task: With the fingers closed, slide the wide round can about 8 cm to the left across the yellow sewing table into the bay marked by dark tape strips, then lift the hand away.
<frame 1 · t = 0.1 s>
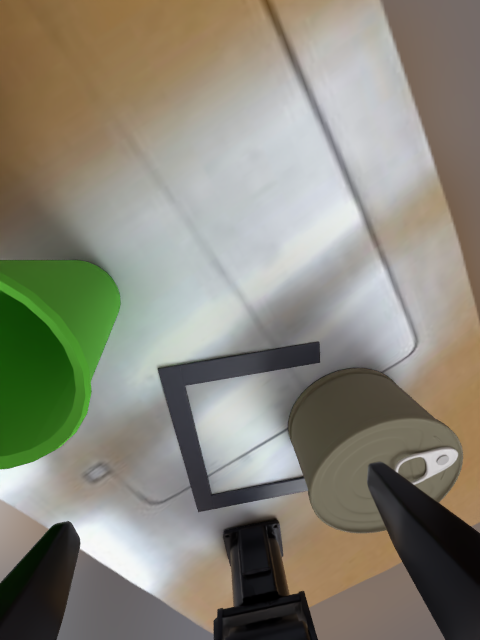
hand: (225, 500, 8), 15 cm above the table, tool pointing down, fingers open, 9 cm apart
can: (344, 417, 27), on the table
cup: (85, 294, 20), on the table
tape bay: (265, 432, 26), on the table
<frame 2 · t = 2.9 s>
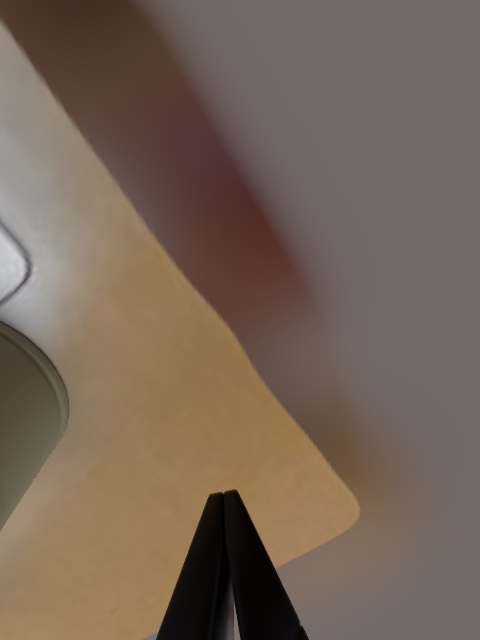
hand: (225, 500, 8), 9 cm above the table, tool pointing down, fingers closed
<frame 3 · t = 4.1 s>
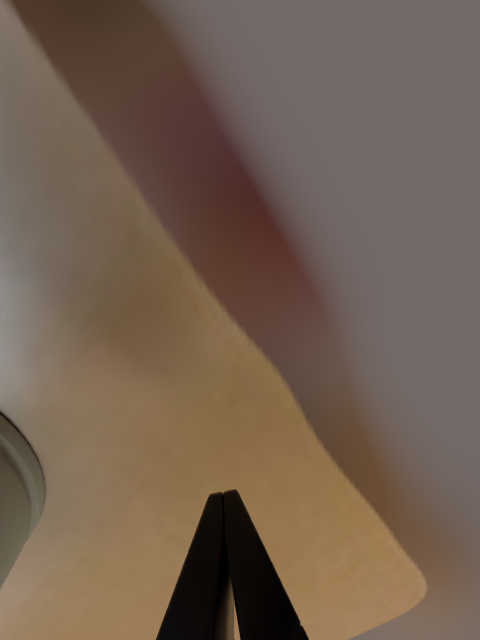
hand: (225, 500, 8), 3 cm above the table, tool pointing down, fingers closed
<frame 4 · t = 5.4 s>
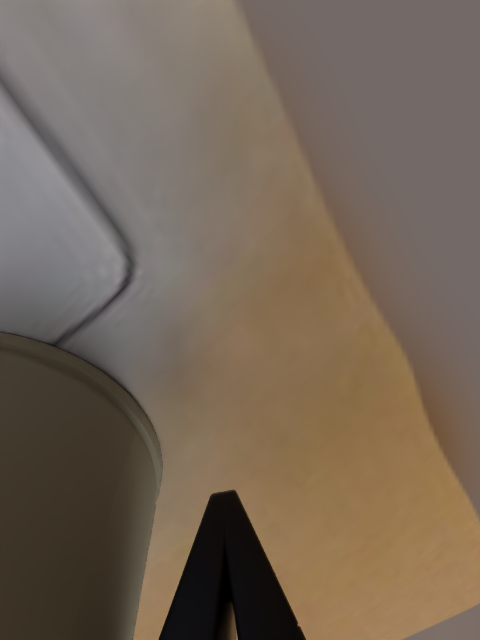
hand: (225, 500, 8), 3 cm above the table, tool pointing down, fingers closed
can: (11, 462, 11), on the table, touching gripper
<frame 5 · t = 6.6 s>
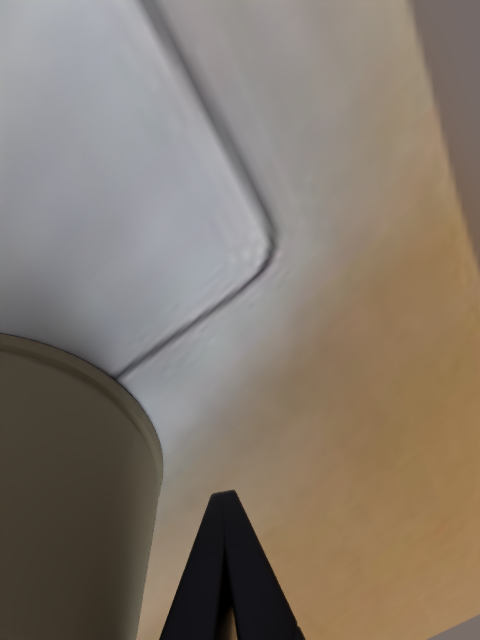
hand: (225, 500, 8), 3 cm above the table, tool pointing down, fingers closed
can: (13, 463, 11), on the table, touching gripper
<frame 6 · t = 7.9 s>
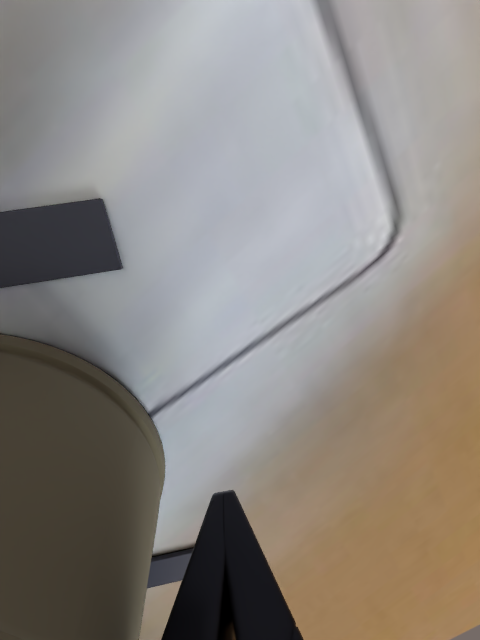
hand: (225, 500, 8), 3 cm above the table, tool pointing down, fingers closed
can: (15, 464, 11), on the table, touching gripper, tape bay
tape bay: (33, 466, 11), on the table
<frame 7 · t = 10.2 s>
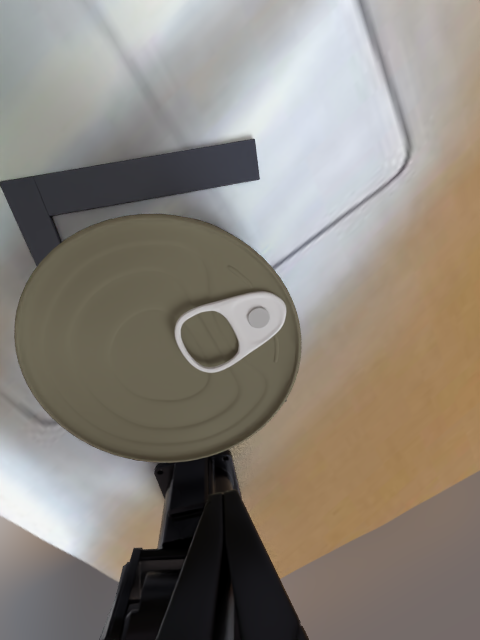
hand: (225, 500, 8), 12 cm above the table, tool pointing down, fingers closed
can: (182, 308, 18), on the table
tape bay: (192, 309, 18), on the table
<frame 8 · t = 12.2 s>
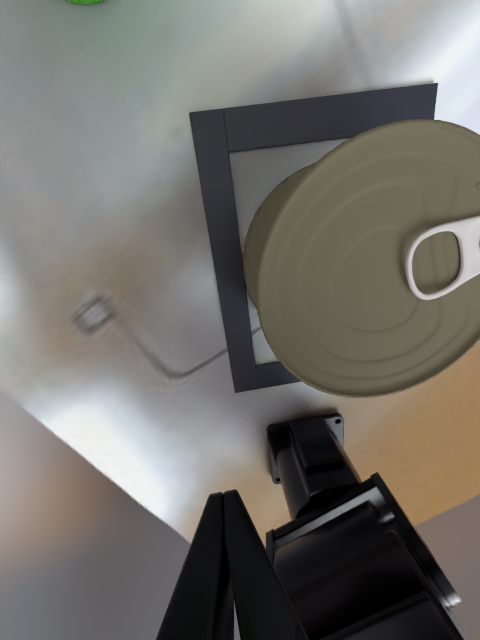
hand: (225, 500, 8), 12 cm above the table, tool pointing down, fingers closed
can: (327, 259, 18), on the table
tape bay: (338, 260, 18), on the table
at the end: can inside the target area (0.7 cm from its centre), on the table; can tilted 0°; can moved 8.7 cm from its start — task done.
